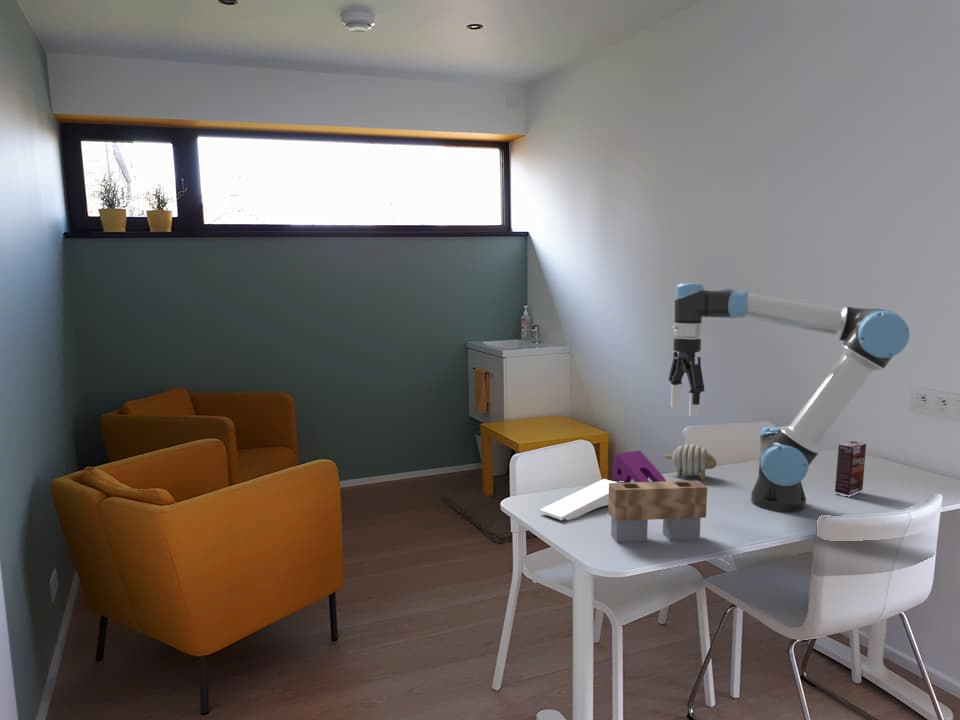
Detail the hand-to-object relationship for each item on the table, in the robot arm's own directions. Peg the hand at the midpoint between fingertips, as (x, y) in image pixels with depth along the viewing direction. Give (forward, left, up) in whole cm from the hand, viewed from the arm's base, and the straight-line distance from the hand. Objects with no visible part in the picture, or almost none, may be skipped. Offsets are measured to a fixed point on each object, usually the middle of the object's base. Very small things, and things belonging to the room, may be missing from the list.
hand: (684, 411), depth 208 cm
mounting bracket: (+5, -22, -29) cm, 37 cm away
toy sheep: (-15, -30, -29) cm, 44 cm away
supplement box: (-57, -7, -29) cm, 64 cm away
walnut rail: (+16, +23, -23) cm, 36 cm away
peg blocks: (+16, +23, -29) cm, 40 cm away
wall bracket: (+29, -2, -29) cm, 41 cm away
